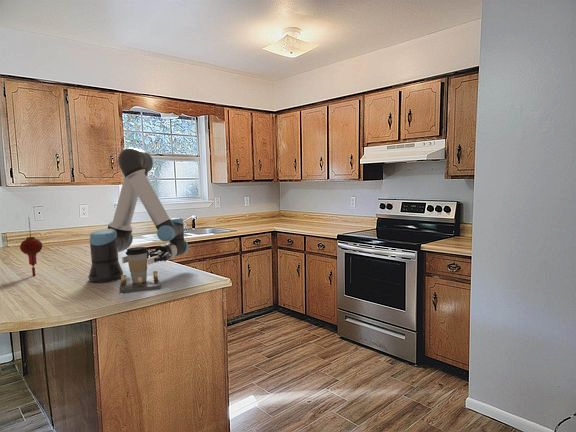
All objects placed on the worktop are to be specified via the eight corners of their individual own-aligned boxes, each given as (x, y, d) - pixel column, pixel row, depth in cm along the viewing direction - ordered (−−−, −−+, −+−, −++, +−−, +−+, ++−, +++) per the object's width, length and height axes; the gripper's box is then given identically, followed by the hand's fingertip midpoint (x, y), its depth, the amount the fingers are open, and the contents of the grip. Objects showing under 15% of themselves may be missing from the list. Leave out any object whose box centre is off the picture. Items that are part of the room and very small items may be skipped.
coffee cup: (149, 282, 167) (147, 249, 165) (126, 285, 164) (123, 251, 163) (151, 277, 176) (148, 245, 174) (129, 280, 173) (126, 247, 172)
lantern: (19, 278, 188) (13, 218, 185) (28, 274, 197) (22, 216, 194) (40, 277, 189) (34, 217, 187) (48, 273, 199) (43, 216, 196)
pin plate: (121, 282, 175) (120, 270, 175) (157, 278, 181) (157, 266, 181) (119, 293, 157) (119, 280, 156) (160, 288, 163) (159, 276, 162)
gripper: (187, 260, 182) (159, 270, 162) (144, 258, 190) (113, 268, 170) (187, 245, 182) (158, 253, 162) (144, 243, 189) (112, 251, 169)
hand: (135, 260), depth 166 cm, fingers open, 13 cm apart
